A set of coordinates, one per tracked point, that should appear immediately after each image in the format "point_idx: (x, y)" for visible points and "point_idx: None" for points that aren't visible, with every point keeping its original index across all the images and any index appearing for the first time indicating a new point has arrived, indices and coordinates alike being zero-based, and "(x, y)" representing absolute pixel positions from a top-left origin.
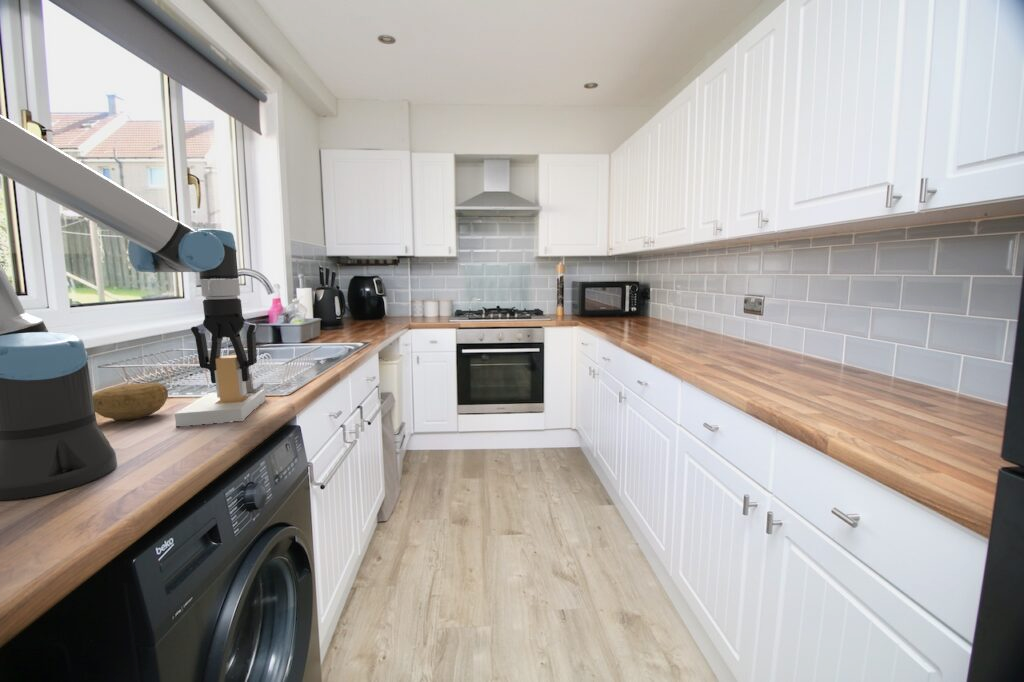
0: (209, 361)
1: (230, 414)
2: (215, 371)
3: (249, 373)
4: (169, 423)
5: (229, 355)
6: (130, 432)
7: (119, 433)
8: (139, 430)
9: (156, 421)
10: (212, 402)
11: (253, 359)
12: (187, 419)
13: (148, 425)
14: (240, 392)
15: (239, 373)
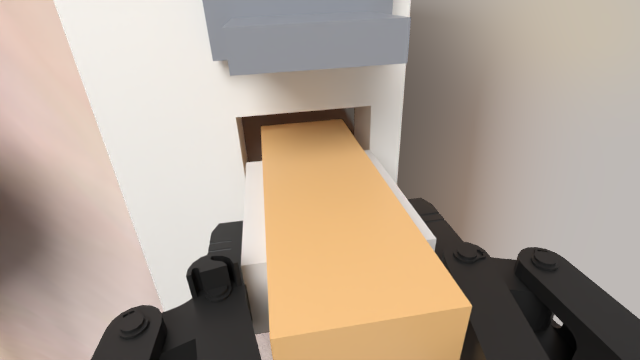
0: (156, 343)
1: None
2: (259, 326)
3: (399, 49)
4: (120, 255)
5: (355, 327)
6: (55, 321)
7: (22, 327)
8: (70, 308)
9: (35, 228)
10: (230, 206)
11: (562, 346)
12: None
13: (50, 268)
14: None
15: None
